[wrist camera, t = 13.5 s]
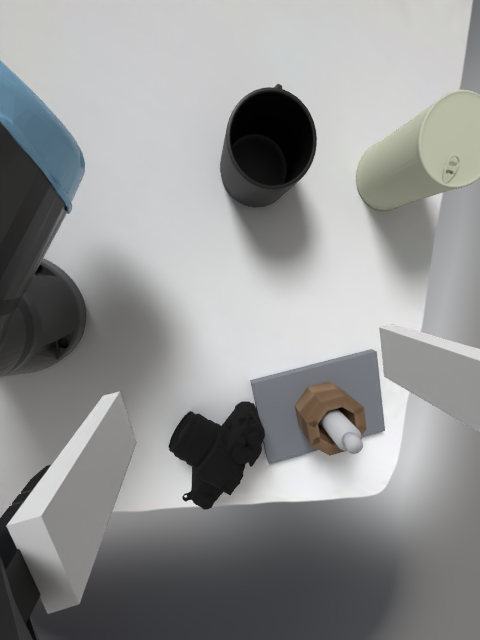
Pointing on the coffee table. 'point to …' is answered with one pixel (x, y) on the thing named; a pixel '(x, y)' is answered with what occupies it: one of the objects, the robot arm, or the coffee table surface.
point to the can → (424, 154)
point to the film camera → (217, 451)
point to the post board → (294, 387)
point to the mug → (267, 146)
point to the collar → (315, 407)
